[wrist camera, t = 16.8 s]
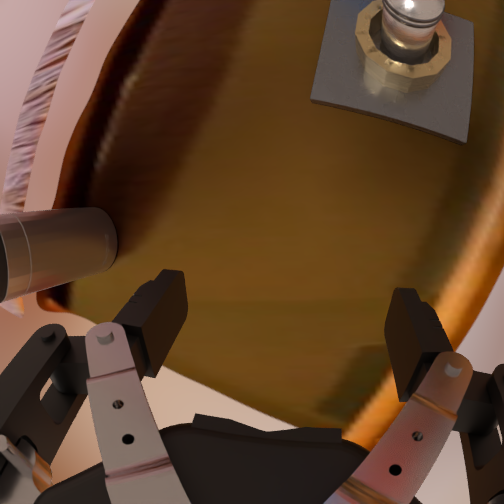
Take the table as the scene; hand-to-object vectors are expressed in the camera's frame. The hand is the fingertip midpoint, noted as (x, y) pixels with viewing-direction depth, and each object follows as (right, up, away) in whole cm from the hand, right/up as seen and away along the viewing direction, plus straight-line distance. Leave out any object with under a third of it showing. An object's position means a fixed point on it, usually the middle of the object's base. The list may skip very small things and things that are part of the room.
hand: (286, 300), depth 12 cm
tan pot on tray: (+14, +22, +14) cm, 29 cm away
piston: (+13, +21, +13) cm, 28 cm away
